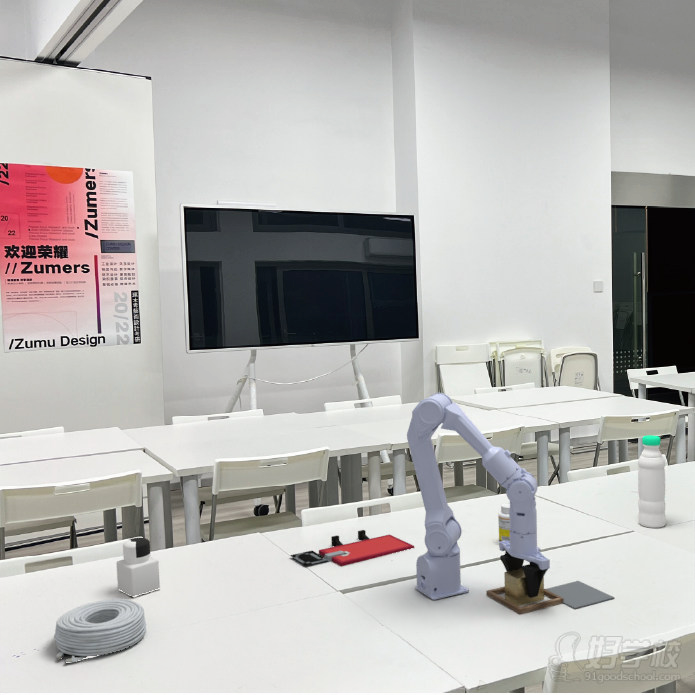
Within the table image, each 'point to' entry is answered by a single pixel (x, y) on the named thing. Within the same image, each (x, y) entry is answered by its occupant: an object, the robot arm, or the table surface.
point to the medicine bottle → (137, 568)
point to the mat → (579, 594)
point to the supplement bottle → (504, 523)
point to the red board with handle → (355, 550)
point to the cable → (99, 628)
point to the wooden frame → (529, 608)
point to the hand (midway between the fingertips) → (524, 591)
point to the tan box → (520, 588)
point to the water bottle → (651, 484)
